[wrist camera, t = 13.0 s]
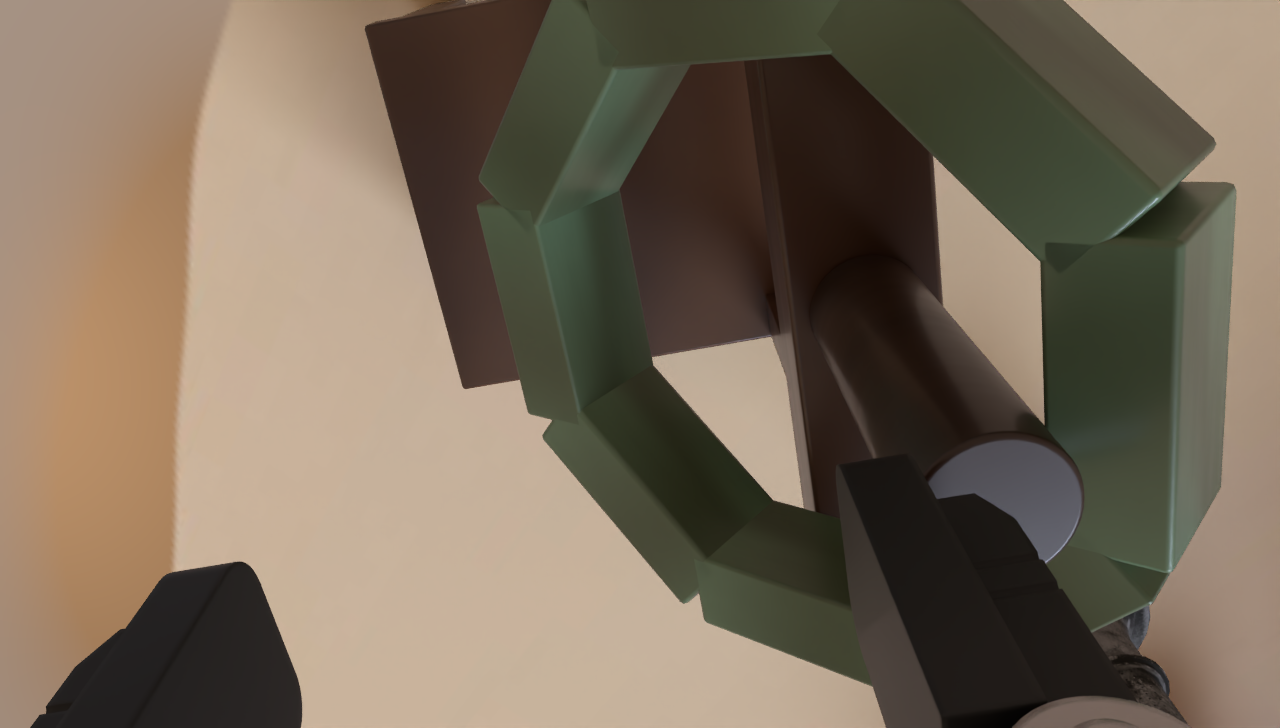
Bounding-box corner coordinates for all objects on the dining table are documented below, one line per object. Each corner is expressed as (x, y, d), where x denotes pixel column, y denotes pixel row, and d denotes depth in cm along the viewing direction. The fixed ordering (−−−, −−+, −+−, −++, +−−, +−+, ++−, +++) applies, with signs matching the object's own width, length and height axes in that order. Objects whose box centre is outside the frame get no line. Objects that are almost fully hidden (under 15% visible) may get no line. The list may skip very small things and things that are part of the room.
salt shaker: (950, 624, 43) (1064, 866, 32) (985, 504, 41) (1122, 720, 29) (1084, 637, 43) (1244, 879, 32) (1127, 518, 41) (1314, 737, 30)
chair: (497, 291, 37) (262, 969, 13) (425, 2, 33) (-106, 201, 9) (788, 239, 36) (1115, 850, 12) (751, -61, 32) (1122, -30, 8)
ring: (634, 517, 21) (565, 569, 19) (517, -31, 17) (420, -11, 15) (1211, 701, 14) (1165, 802, 12) (1256, -164, 10) (1195, -147, 8)
